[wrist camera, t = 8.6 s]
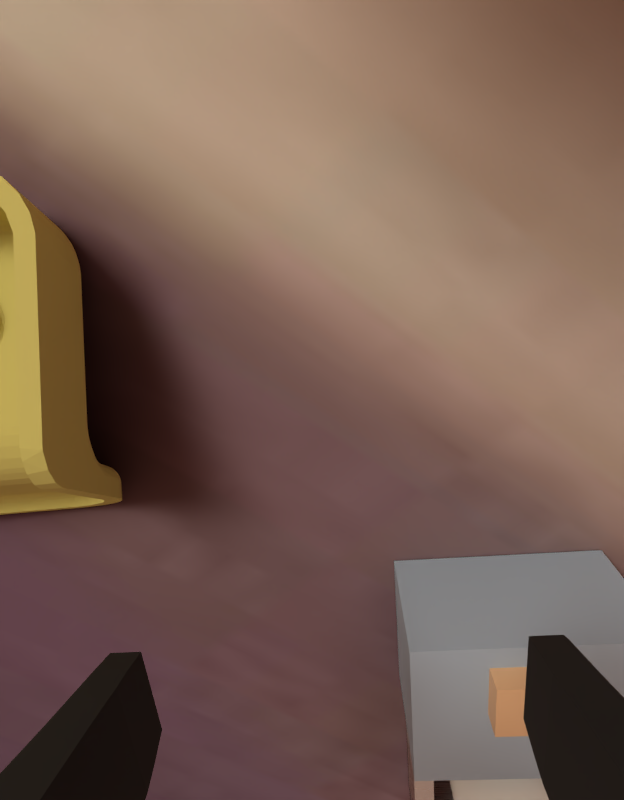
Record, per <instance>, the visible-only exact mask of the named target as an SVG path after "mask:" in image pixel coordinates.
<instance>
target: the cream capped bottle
mask: <svg viewBox="0 0 624 800" xmlns="http://www.w3.org/2000/svg"><path fill="white" fill-rule="evenodd" d="M450 785H451V790H452V795H453V799H454V800H549V798H548V796H547V793H546V791H545V788H544V786H543V783H542V780H541V778H537V779H491V780H450Z"/></svg>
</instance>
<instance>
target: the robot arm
mask: <svg viewBox="0 0 624 800" xmlns="http://www.w3.org/2000/svg"><path fill="white" fill-rule="evenodd" d="M523 719H524V722H525V726H526V729H527V733H528V736H529V740H530V743H531V747H532V750H533V753H534V757H535V760H536V763H537V767H538V770H539V773H540V776H541V780H542V783H543V786H544V788H545V791H546V793H547V796H548V798H549V800H624V697H623V696H622V695H621V694H620V693H619V692H618V691H617V690H616V689H615V688H614V687H613V686H612V685H611V684H610V683H609V682H608V680H607V679H606V678H605V677H604V676H603V675H602V674H601V673H600V672H599V671H598V670H597V669H596V668H595V667H594V666H593V665H592V663H591V662H590V661H589V660H588V659H587V658H586V657H585V656H584V655H583V654H582V653H581V652H580V651H579V649H578V648H577V647H576V646H575V645H574V644H573V643H572V642H571V641H570V640H569V639H568V638H567V637H566V636H565V635H543V636H529V640H528V655H527V671H526V686H525V702H524V717H523ZM161 731H162V728H161V724H160V720H159V717H158V713H157V709H156V706H155V702H154V698H153V695H152V691H151V687H150V684H149V680H148V676H147V672H146V669H145V665H144V661H143V658H142V654H141V652H129V653H110V654H109V655H108V656H107V657H106V658H105V659H104V661H103V662H102V663H101V664H100V665H99V666H98V667H97V668H96V669H95V670H94V671H93V672H92V674H91V675H90V676H89V677H88V678H87V679H86V680H85V681H84V682H83V684H82V685H81V686H80V687H79V688H78V689H77V690H76V691H75V692H74V694H73V695H72V696H71V697H70V698H69V699H68V700H67V701H66V703H65V704H64V705H63V706H62V707H61V708H60V709H59V710H58V711H57V713H56V714H55V715H54V716H53V717H52V718H51V719H50V720H49V721H48V723H47V724H46V725H45V726H44V727H43V728H42V729H41V730H40V731H39V732H38V733H37V735H36V736H35V737H34V738H33V739H32V740H31V741H30V742H29V743H28V744H27V745H26V746H25V747H24V749H23V750H22V751H21V752H20V753H19V754H18V755H17V756H16V757H15V758H14V759H13V760H12V762H11V763H10V764H9V765H8V766H7V767H6V768H5V769H4V770H3V771H2V772H1V773H0V800H145V798H146V795H147V792H148V788H149V784H150V780H151V776H152V772H153V768H154V763H155V759H156V754H157V750H158V745H159V741H160V736H161Z"/></svg>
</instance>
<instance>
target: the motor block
mask: <svg viewBox="0 0 624 800" xmlns="http://www.w3.org/2000/svg"><path fill="white" fill-rule="evenodd" d="M394 572H395V593H396V614H397V635H398V656H399V675H400V682H401V689H402V696H403V703H404V710H405V717H406V725H407V732H408V739H409V746H410V753H411V760H412V767H413V774H414V781H445V780H491V779H537V778H541V776H540V773H539V770H538V767H537V763H536V760H535V757H534V753H533V750H532V747H531V743H530V740H529V736H528V733H527V729H526V726H525V722H524V719H523V717H524V702H525V686H526V671H527V655H528V640H529V636H543V635H565V636H566V637H567V638H568V639H569V640H570V641H571V642H572V643H573V644H574V645H575V646H576V647H577V648H578V649H579V651H580V652H581V653H582V654H583V655H584V656H585V657H586V658H587V659H588V660H589V661H590V662H591V663H592V665H593V666H594V667H595V668H596V669H597V670H598V671H599V672H600V673H601V674H602V675H603V676H604V677H605V678H606V679H607V680H608V682H609V683H610V684H611V685H612V686H613V687H614V688H615V689H616V690H617V691H618V692H619V693H620V694H621V695H622V696H623V697H624V578H623V577H622V576H621V574H620V573H619V572H618V571H617V569H616V568H615V567H614V566H613V564H612V563H611V562H610V561H609V559H608V558H607V557H606V555H605V554H604V553H603V552H602V550H596V551H577V552H558V553H538V554H519V555H500V556H481V557H461V558H442V559H423V560H404V561H394Z"/></svg>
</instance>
